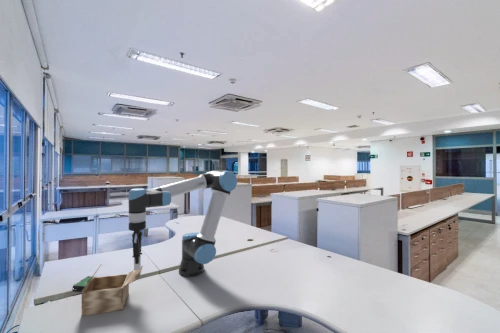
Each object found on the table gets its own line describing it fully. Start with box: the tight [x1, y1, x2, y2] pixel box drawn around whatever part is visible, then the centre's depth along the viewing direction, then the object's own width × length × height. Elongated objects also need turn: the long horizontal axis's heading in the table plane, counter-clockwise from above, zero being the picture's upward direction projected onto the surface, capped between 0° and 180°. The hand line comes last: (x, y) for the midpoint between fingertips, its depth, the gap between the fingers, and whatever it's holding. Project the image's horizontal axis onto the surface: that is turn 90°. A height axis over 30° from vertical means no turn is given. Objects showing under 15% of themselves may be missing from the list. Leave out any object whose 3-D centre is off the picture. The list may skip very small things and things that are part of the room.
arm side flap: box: [123, 265, 144, 287], centre depth 115 cm, size 1×14×7 cm
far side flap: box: [81, 264, 103, 293], centre depth 110 cm, size 1×14×7 cm
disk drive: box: [72, 275, 95, 291], centre depth 127 cm, size 10×3×15 cm
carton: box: [81, 273, 130, 317], centre depth 112 cm, size 16×15×10 cm
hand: (137, 269), depth 115 cm, fingers closed
